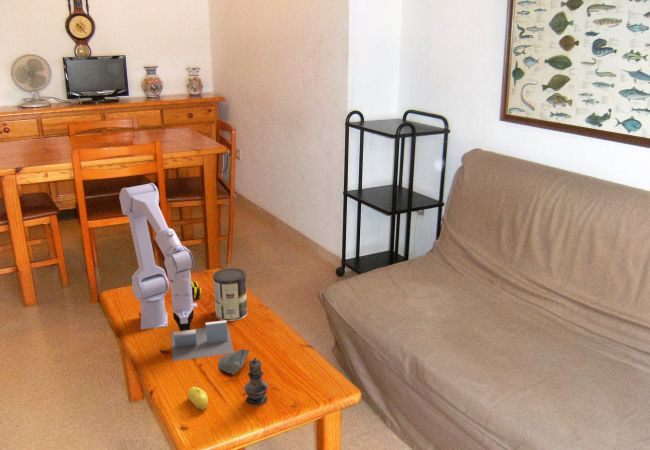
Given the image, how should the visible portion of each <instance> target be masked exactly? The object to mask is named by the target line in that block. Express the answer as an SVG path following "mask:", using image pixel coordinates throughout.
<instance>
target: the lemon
mask: <svg viewBox="0 0 650 450" xmlns="http://www.w3.org/2000/svg"><path fill="white" fill-rule="evenodd" d="M188 398H189V401H190V403H192V404H193V405H194V406H195V407H196V408H197V409H198V410H205V409H207V406H208V405H209V404H208V403H209V396H208V394H207V392H206V391H205V390H203V389H202V388H200V387H198V386H192V387H190V389H189V390H188Z"/></svg>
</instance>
